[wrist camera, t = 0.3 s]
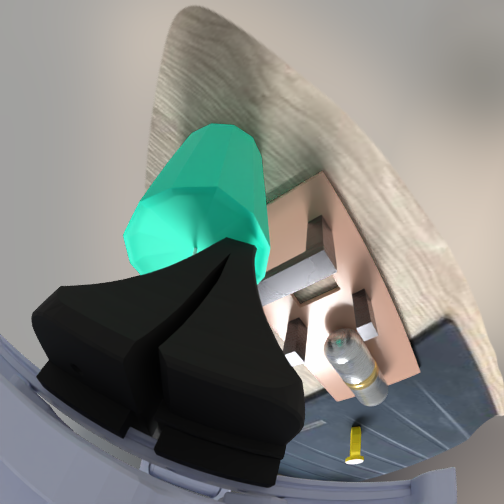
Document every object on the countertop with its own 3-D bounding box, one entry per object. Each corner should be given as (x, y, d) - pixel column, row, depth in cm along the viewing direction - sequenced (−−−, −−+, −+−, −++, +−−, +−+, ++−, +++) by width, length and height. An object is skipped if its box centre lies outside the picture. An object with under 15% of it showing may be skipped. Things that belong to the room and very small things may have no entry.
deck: (419, 368, 25) (420, 372, 24) (337, 397, 30) (337, 401, 29) (322, 170, 18) (322, 172, 18) (207, 242, 23) (205, 245, 22)
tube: (390, 379, 26) (393, 405, 23) (361, 389, 27) (362, 415, 24) (353, 313, 23) (356, 343, 19) (317, 328, 24) (315, 358, 21)
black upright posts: (371, 301, 22) (380, 348, 17) (296, 332, 25) (290, 379, 20) (321, 214, 19) (323, 249, 14) (239, 260, 22) (218, 302, 18)
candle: (278, 168, 19) (305, 293, 10) (216, 212, 21) (193, 346, 12) (224, 105, 16) (182, 169, 7) (162, 159, 18) (84, 271, 9)
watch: (362, 434, 35) (362, 465, 30) (346, 436, 35) (344, 466, 30) (365, 421, 32) (365, 456, 27) (347, 423, 32) (345, 458, 28)
